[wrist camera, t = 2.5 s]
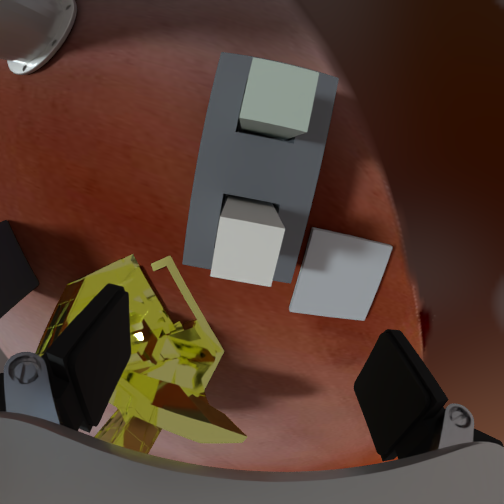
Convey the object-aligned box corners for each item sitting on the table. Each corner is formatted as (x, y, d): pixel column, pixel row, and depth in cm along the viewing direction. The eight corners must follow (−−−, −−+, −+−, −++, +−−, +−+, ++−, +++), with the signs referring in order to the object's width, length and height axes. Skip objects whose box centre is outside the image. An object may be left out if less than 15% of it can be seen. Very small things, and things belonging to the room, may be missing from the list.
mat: (311, 226, 29) (313, 228, 28) (389, 244, 30) (392, 246, 29) (288, 308, 32) (289, 311, 31) (362, 317, 33) (364, 320, 32)
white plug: (229, 193, 26) (219, 216, 16) (271, 201, 26) (285, 228, 17) (222, 232, 27) (210, 276, 18) (262, 240, 28) (270, 286, 18)
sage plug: (250, 92, 22) (253, 57, 13) (292, 101, 23) (319, 72, 13) (242, 131, 24) (239, 117, 14) (284, 140, 24) (307, 132, 15)
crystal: (148, 404, 39) (126, 480, 24) (56, 281, 31) (-13, 346, 16) (250, 384, 37) (252, 478, 22) (161, 227, 29) (90, 300, 14)
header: (225, 68, 23) (221, 52, 18) (323, 89, 24) (338, 78, 19) (192, 246, 29) (182, 264, 24) (283, 262, 30) (290, 283, 25)
